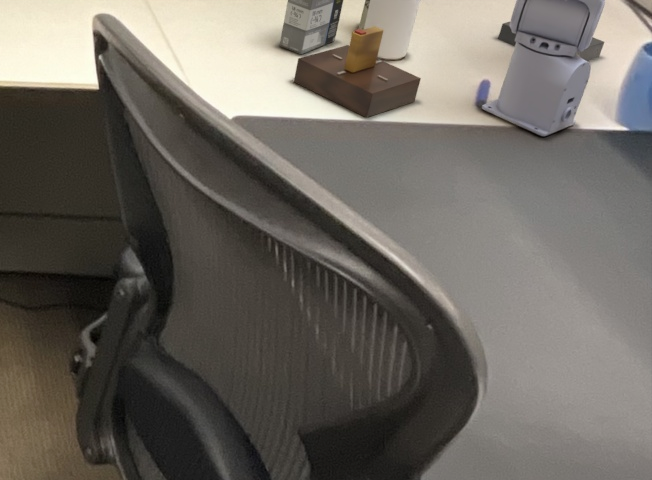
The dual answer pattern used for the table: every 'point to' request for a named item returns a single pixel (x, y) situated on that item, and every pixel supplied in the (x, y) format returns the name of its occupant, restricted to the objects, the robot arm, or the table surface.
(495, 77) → the table surface
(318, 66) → the plate
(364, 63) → the thumbturn
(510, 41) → the dark grey rectangular block
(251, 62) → the table surface
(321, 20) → the tape cartridge
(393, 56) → the can
